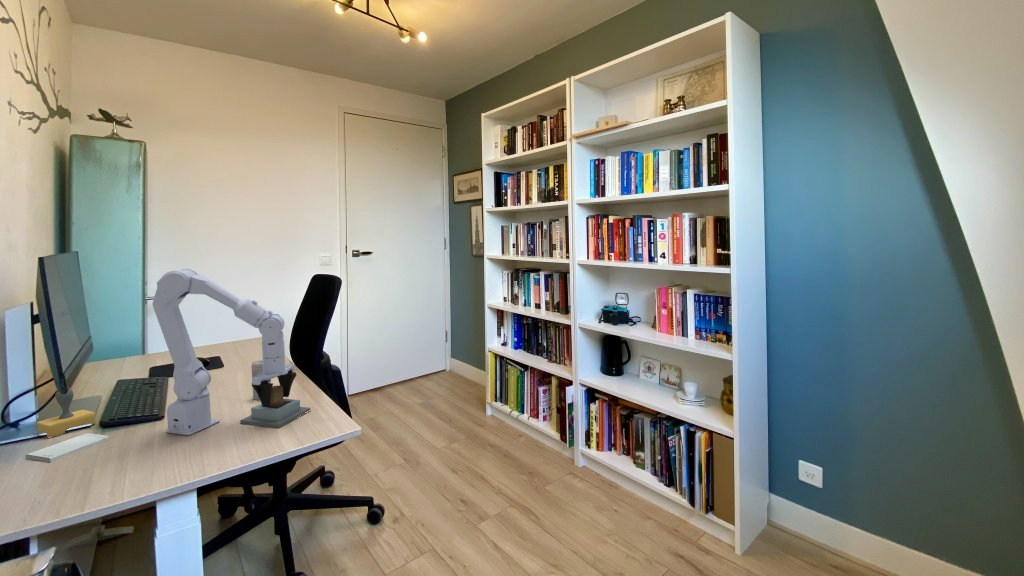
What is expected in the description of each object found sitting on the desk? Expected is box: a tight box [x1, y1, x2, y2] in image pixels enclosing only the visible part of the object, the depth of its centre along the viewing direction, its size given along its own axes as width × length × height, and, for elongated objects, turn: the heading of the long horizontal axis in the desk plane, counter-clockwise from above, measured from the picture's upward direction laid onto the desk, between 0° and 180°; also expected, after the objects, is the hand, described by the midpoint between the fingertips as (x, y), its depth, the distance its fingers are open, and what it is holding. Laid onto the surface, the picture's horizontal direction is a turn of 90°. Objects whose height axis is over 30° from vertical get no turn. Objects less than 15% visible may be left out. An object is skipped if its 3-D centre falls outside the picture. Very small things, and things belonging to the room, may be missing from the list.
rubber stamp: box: [36, 387, 97, 438], centre depth 119 cm, size 10×6×12 cm, turn 159°
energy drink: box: [250, 359, 272, 401], centre depth 145 cm, size 5×5×12 cm
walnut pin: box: [268, 385, 284, 409], centre depth 129 cm, size 4×4×8 cm
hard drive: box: [24, 432, 111, 463], centre depth 109 cm, size 2×8×12 cm
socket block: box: [239, 397, 311, 429], centre depth 129 cm, size 13×13×4 cm
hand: (275, 401), depth 129 cm, fingers open, 7 cm apart
